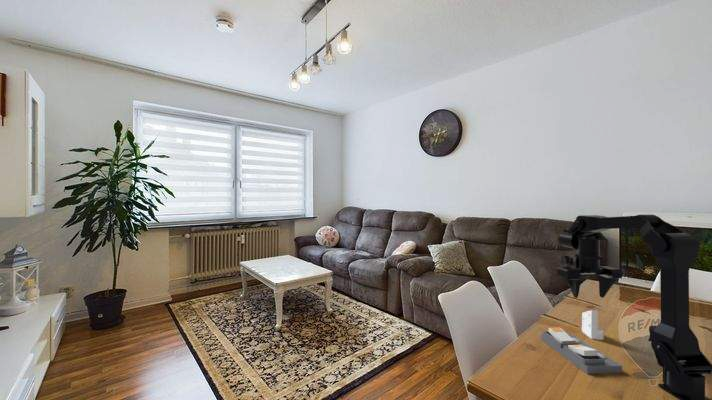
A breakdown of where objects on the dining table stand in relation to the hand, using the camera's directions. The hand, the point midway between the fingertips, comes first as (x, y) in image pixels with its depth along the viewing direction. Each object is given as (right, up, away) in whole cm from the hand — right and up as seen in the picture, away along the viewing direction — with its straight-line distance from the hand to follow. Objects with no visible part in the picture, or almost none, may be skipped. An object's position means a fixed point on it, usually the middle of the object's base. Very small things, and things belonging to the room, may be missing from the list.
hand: (588, 297), depth 99 cm
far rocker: (-13, -12, -5) cm, 18 cm away
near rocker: (-13, -12, -14) cm, 22 cm away
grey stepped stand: (-11, -15, -9) cm, 20 cm away
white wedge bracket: (+4, -15, +3) cm, 15 cm away
